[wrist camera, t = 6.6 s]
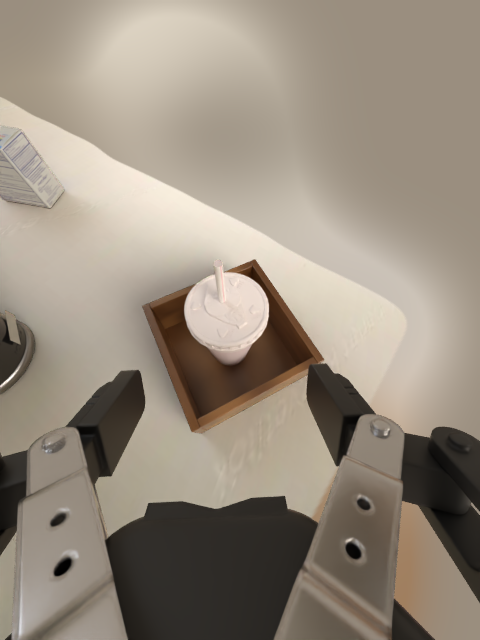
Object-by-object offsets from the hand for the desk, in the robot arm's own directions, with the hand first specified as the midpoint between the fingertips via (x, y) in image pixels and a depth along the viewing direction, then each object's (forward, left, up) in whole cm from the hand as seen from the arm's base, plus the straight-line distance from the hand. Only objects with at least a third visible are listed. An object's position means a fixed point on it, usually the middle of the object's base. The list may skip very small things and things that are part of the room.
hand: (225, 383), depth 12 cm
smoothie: (+3, +6, -14) cm, 15 cm away
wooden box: (+3, +6, -14) cm, 15 cm away
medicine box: (-13, +42, -14) cm, 46 cm away
